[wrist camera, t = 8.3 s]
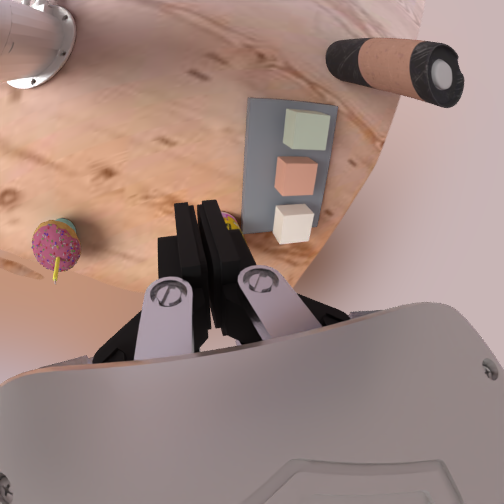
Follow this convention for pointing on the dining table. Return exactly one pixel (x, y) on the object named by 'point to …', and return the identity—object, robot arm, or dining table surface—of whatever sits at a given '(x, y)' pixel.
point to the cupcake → (56, 245)
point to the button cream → (292, 223)
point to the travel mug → (399, 67)
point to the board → (265, 162)
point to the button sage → (306, 129)
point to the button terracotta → (295, 175)
